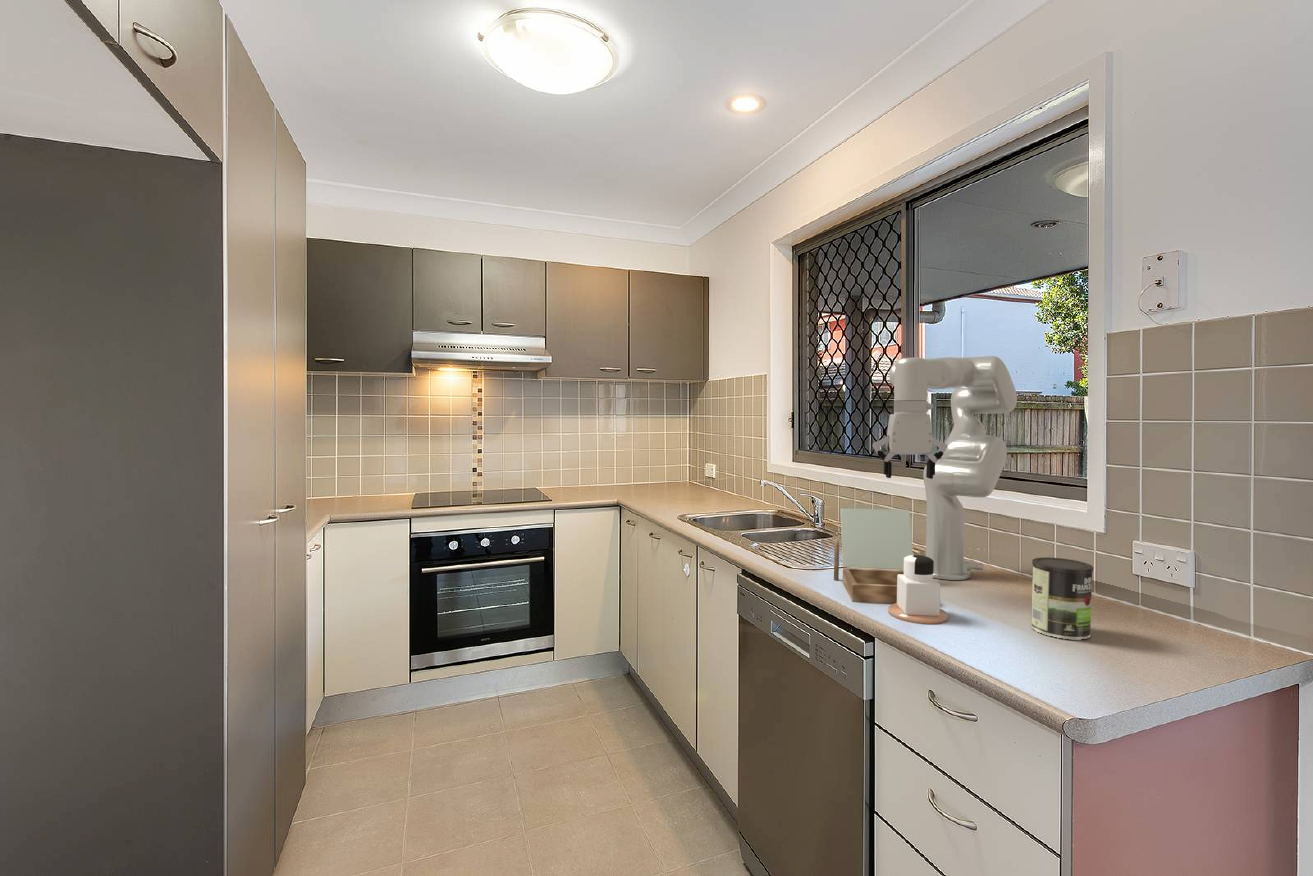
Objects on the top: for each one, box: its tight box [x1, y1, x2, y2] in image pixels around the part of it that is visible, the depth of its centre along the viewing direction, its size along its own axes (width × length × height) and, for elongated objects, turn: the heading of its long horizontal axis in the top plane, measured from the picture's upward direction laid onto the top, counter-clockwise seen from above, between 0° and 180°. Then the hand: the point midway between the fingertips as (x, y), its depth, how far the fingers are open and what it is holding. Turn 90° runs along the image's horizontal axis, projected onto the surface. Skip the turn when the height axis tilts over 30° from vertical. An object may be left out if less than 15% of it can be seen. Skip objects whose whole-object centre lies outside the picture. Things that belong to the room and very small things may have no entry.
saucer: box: [888, 603, 949, 625], centre depth 134 cm, size 12×12×1 cm
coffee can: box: [1030, 556, 1094, 641], centre depth 123 cm, size 10×10×14 cm
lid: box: [839, 507, 914, 570], centre depth 160 cm, size 17×15×2 cm
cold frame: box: [842, 567, 904, 604], centre depth 149 cm, size 17×15×4 cm
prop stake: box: [833, 537, 840, 582], centre depth 161 cm, size 1×1×11 cm
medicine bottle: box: [897, 554, 941, 616], centre depth 134 cm, size 7×7×12 cm
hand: (908, 477), depth 150 cm, fingers open, 9 cm apart
